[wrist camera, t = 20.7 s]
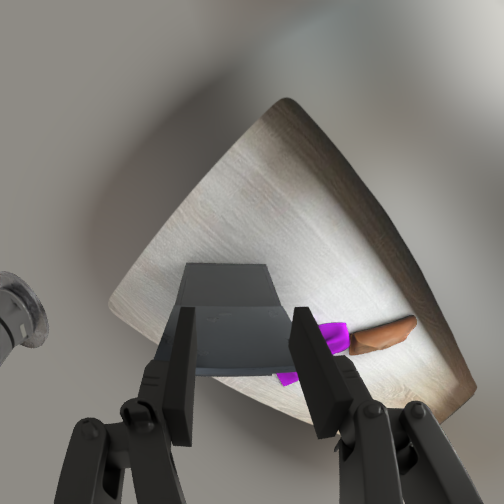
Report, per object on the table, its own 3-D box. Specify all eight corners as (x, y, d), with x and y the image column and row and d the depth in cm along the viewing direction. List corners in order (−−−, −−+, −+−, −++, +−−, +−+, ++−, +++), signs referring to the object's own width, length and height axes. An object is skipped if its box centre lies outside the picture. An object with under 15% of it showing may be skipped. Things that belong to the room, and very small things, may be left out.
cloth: (286, 311, 56) (292, 329, 50) (361, 318, 59) (373, 333, 53) (261, 384, 63) (264, 403, 58) (328, 385, 66) (334, 401, 61)
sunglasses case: (348, 357, 63) (358, 363, 56) (344, 331, 64) (354, 334, 57) (407, 338, 63) (421, 341, 57) (404, 313, 65) (418, 314, 58)
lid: (314, 370, 24) (316, 363, 23) (152, 372, 22) (151, 364, 22) (282, 311, 38) (282, 306, 37) (174, 310, 36) (173, 305, 36)
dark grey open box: (260, 324, 56) (271, 375, 43) (189, 324, 55) (182, 375, 41) (266, 264, 52) (281, 307, 38) (186, 262, 50) (174, 306, 36)
